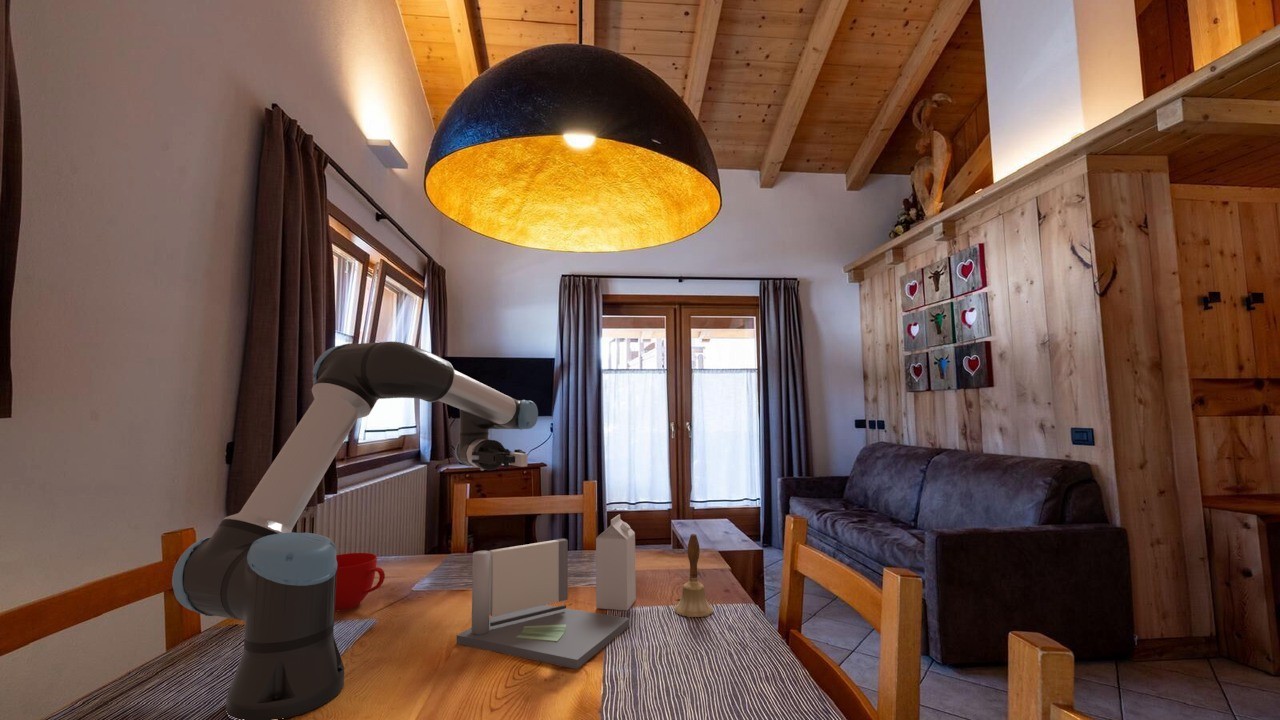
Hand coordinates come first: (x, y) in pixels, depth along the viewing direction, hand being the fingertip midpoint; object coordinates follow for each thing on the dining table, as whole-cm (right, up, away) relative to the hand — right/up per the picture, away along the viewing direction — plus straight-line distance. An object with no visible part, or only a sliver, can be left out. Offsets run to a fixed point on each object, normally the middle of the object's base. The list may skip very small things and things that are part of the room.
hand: (524, 460), depth 122 cm
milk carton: (+20, -32, 0) cm, 38 cm away
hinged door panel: (+2, -29, -14) cm, 32 cm away
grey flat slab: (+8, -31, -16) cm, 35 cm away
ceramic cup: (-39, -33, 0) cm, 51 cm away
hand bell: (+37, -32, -5) cm, 49 cm away
